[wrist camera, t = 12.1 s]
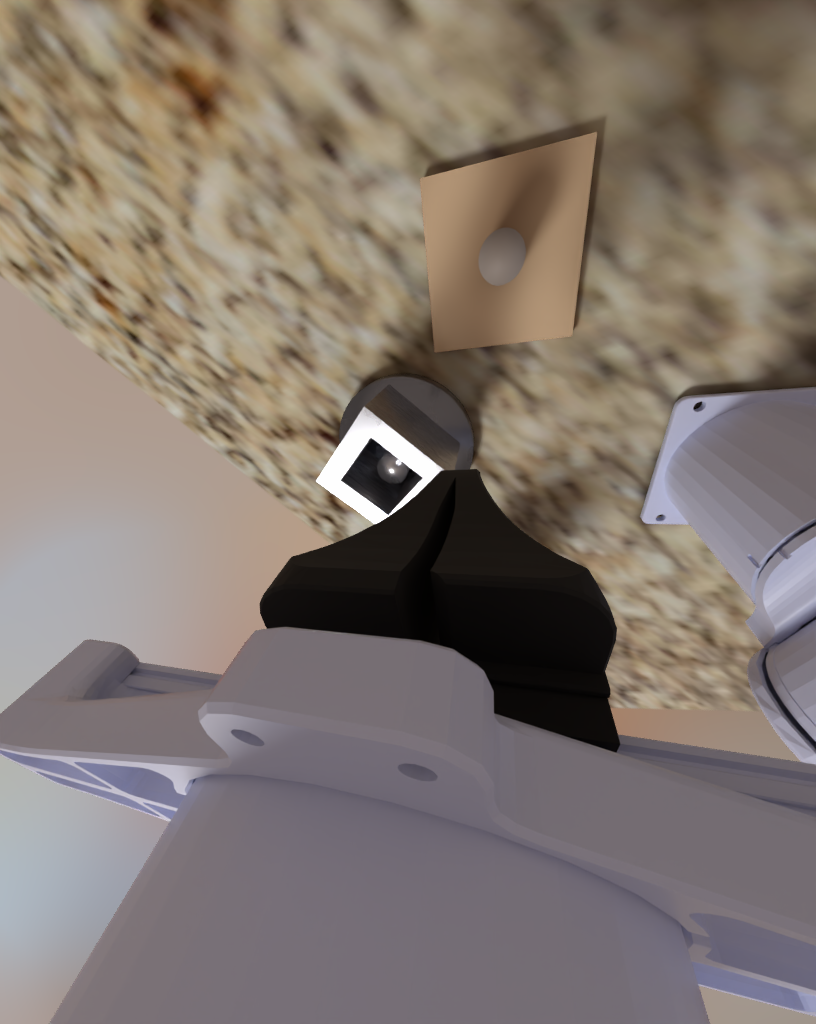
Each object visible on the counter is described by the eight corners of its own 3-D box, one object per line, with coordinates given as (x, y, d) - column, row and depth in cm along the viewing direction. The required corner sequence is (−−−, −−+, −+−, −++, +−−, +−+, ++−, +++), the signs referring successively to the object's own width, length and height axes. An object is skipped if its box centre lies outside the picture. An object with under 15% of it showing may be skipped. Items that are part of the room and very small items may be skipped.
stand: (593, 137, 13) (621, 93, 10) (570, 334, 17) (585, 344, 14) (422, 182, 15) (404, 156, 12) (436, 351, 18) (424, 362, 16)
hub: (472, 365, 19) (467, 382, 15) (475, 499, 23) (472, 533, 20) (330, 381, 21) (300, 398, 18) (360, 499, 26) (340, 529, 22)
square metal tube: (389, 384, 19) (363, 406, 16) (460, 443, 20) (452, 477, 17) (345, 450, 22) (316, 481, 19) (408, 498, 23) (392, 536, 20)
